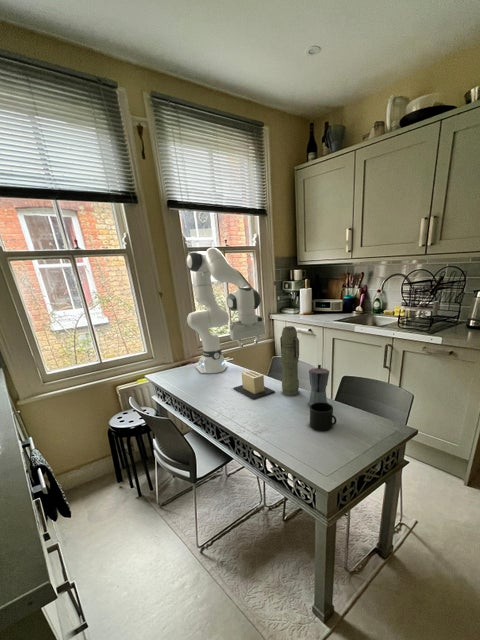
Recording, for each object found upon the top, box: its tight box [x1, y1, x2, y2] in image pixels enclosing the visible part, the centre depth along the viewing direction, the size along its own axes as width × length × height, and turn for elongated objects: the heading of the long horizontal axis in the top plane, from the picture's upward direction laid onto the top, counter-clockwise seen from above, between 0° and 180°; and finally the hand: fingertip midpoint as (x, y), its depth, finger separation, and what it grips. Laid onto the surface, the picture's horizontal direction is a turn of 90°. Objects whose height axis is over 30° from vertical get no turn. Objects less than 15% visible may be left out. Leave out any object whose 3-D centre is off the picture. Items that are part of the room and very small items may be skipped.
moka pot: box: [308, 364, 330, 406], centre depth 150 cm, size 10×15×20 cm, turn 174°
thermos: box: [279, 325, 300, 397], centre depth 162 cm, size 9×12×35 cm
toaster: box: [241, 369, 265, 394], centre depth 173 cm, size 13×6×9 cm, turn 37°
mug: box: [309, 402, 338, 432], centre depth 132 cm, size 9×12×9 cm
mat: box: [233, 384, 276, 401], centre depth 174 cm, size 20×14×1 cm
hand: (248, 345), depth 169 cm, fingers open, 8 cm apart
